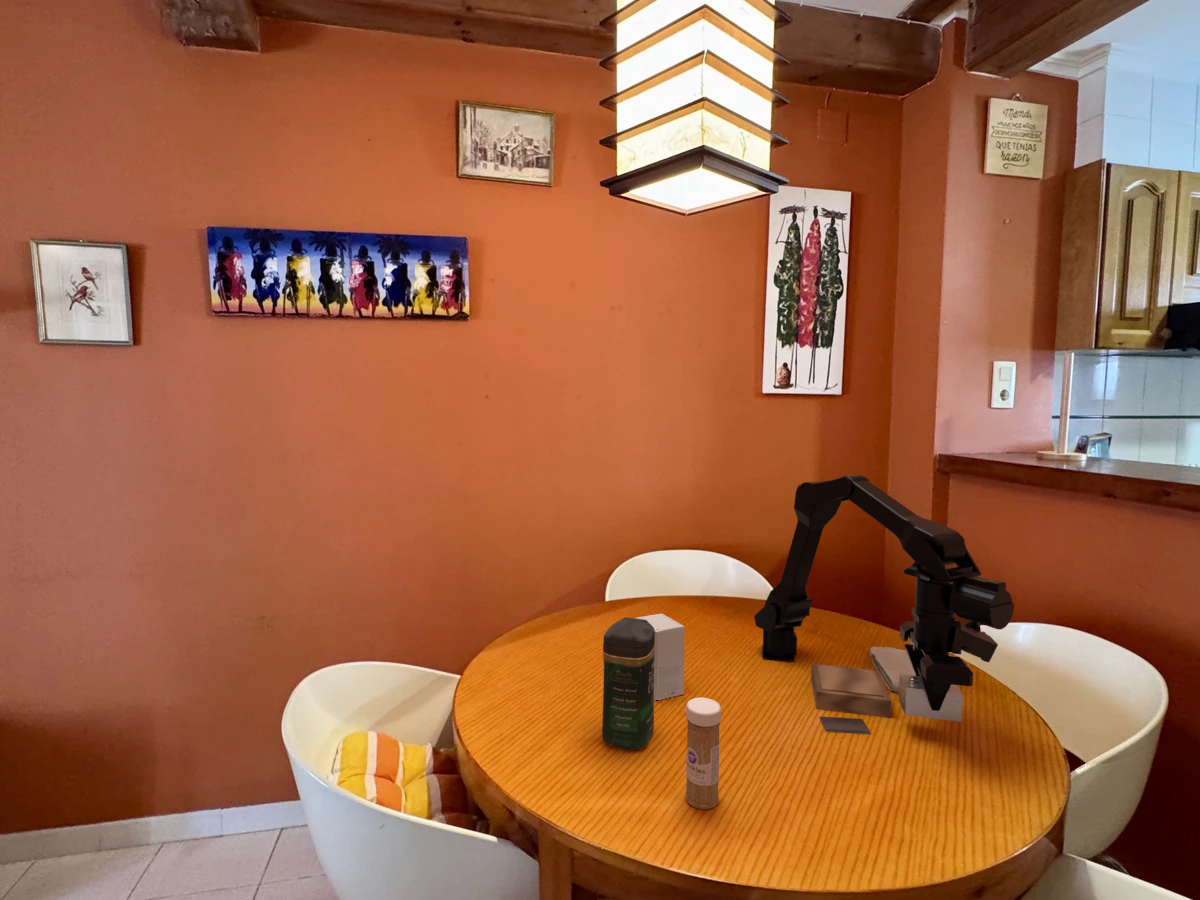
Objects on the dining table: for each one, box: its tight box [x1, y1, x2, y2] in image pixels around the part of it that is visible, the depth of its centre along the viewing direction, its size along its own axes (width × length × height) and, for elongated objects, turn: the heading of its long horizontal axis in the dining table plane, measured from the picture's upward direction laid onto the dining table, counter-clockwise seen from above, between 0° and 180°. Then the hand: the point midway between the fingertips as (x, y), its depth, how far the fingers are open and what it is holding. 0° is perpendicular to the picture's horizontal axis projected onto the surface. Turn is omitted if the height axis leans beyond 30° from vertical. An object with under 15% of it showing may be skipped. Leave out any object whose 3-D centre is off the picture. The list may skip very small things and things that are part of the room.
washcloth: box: [869, 646, 916, 693], centre depth 120 cm, size 12×18×3 cm, turn 171°
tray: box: [810, 663, 892, 718], centre depth 110 cm, size 12×12×3 cm
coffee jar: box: [601, 616, 655, 751], centre depth 97 cm, size 10×8×19 cm
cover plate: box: [819, 715, 871, 735], centre depth 100 cm, size 7×4×1 cm, turn 84°
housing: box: [898, 674, 964, 723], centre depth 98 cm, size 8×5×6 cm, turn 75°
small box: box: [635, 613, 685, 702], centre depth 113 cm, size 8×6×13 cm
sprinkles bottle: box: [684, 697, 722, 810], centre depth 81 cm, size 5×5×14 cm
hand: (930, 702), depth 98 cm, fingers closed on housing, 5 cm apart
